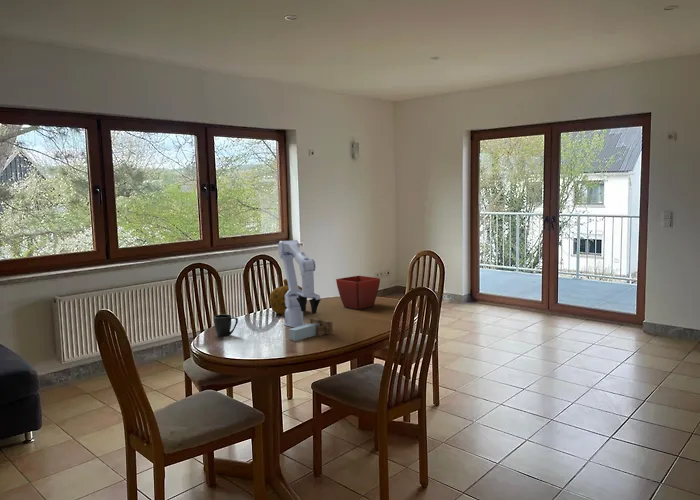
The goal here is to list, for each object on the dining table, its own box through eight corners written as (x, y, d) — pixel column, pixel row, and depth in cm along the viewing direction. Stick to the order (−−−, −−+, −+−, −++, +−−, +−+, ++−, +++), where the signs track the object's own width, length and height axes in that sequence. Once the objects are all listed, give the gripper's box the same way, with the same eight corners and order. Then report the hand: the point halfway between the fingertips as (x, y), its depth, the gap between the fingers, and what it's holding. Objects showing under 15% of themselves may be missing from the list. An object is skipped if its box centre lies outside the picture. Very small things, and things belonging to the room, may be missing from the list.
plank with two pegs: (303, 332, 264) (302, 320, 264) (312, 329, 269) (312, 317, 268) (323, 336, 255) (322, 324, 254) (332, 334, 259) (332, 321, 259)
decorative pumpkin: (311, 313, 301) (306, 278, 299) (273, 319, 296) (268, 283, 294) (305, 307, 320) (301, 274, 319) (270, 313, 315) (265, 279, 314)
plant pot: (359, 302, 333) (358, 275, 332) (381, 306, 319) (381, 278, 318) (335, 307, 320) (335, 279, 319) (358, 311, 306) (357, 282, 305)
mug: (233, 338, 256) (232, 318, 255) (211, 337, 260) (210, 317, 259) (242, 334, 264) (241, 314, 263) (220, 332, 268) (219, 313, 267)
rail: (295, 341, 249) (294, 330, 248) (289, 339, 251) (288, 329, 251) (320, 333, 260) (320, 323, 260) (314, 332, 263) (314, 322, 262)
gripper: (291, 284, 263) (292, 311, 264) (311, 287, 253) (312, 316, 254) (302, 282, 268) (303, 309, 269) (322, 285, 258) (323, 313, 259)
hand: (308, 312), depth 262 cm, fingers open, 7 cm apart
